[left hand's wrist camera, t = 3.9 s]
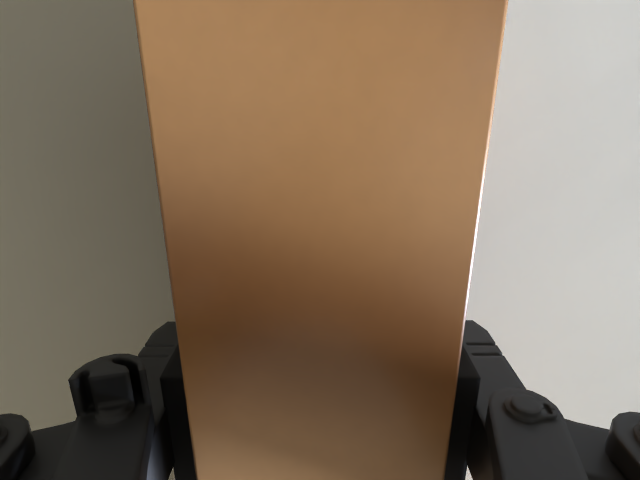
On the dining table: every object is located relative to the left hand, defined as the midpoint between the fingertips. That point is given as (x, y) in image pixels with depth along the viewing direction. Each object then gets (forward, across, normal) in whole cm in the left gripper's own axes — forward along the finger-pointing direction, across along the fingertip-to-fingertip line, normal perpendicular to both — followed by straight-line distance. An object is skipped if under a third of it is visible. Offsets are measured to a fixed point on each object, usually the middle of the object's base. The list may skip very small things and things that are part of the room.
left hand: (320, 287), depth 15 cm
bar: (+1, 0, -24) cm, 24 cm away
